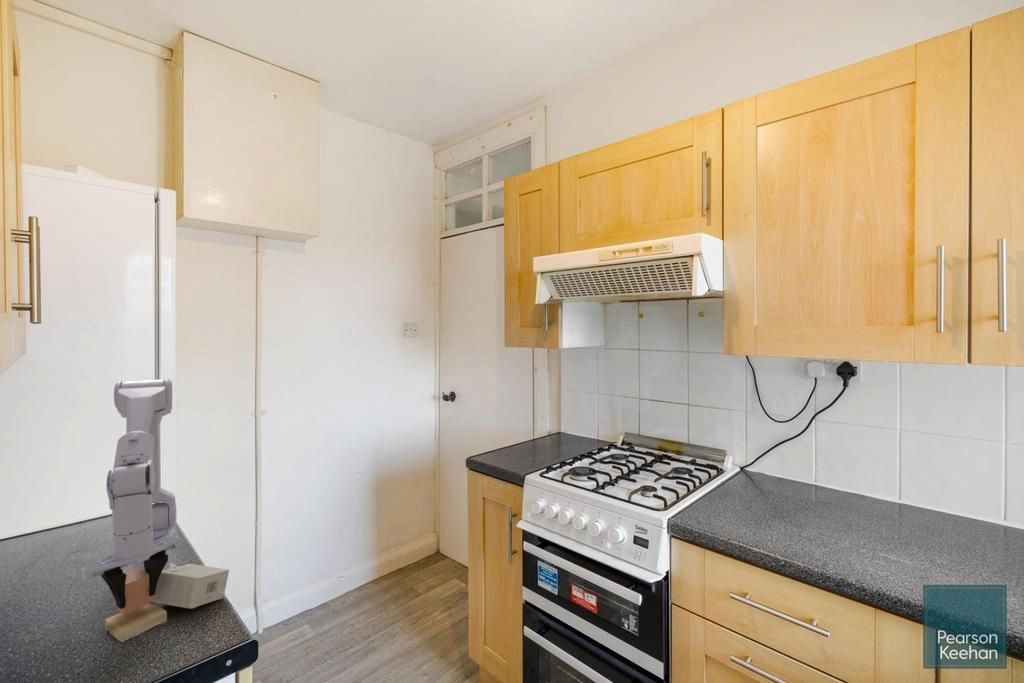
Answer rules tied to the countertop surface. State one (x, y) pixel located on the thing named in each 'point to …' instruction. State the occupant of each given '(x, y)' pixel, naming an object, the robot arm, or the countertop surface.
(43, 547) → the countertop surface
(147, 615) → the base slab
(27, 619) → the countertop surface
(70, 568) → the countertop surface
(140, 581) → the block
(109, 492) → the robot arm
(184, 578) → the small box
